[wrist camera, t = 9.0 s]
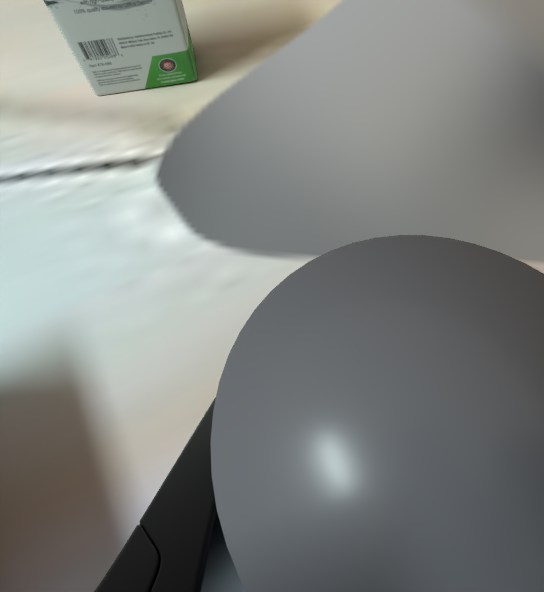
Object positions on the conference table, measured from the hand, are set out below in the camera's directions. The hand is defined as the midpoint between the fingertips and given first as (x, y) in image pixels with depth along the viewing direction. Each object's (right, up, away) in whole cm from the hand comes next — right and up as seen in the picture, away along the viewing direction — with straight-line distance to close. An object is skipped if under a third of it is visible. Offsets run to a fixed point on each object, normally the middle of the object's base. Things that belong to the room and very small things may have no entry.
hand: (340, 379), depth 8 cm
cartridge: (+1, -4, +6) cm, 7 cm away
